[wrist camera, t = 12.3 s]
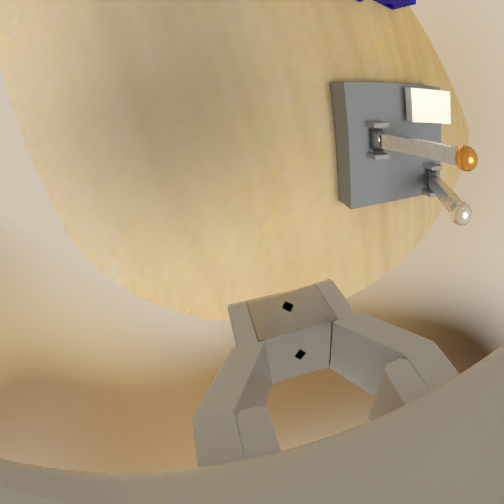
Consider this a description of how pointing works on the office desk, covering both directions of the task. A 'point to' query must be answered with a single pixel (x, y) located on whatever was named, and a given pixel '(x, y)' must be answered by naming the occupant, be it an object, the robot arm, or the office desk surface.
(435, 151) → the lever orange
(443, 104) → the white rectangular block
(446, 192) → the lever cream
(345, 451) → the robot arm
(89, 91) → the office desk surface
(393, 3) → the cable clip
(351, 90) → the panel
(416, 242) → the office desk surface
